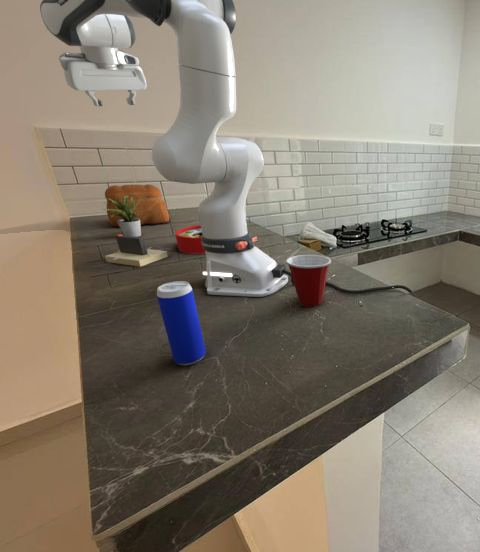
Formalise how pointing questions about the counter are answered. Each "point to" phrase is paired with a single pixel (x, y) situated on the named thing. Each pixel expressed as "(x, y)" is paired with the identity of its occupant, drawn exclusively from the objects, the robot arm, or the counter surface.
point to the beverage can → (181, 322)
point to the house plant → (127, 217)
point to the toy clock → (190, 240)
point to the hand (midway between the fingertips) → (115, 105)
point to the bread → (148, 200)
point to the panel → (136, 257)
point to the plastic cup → (309, 277)
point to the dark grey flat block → (131, 244)
